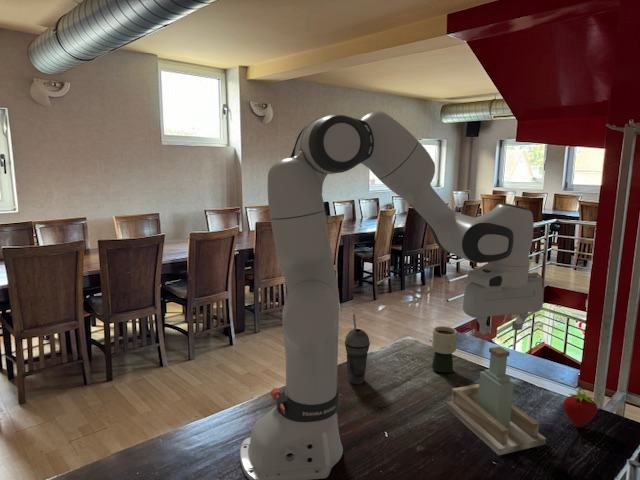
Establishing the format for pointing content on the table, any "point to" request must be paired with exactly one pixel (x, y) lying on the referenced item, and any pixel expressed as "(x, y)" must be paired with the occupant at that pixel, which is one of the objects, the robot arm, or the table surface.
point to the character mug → (443, 348)
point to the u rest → (494, 423)
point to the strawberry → (580, 409)
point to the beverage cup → (356, 354)
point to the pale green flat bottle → (496, 387)
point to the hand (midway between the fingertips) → (500, 331)
